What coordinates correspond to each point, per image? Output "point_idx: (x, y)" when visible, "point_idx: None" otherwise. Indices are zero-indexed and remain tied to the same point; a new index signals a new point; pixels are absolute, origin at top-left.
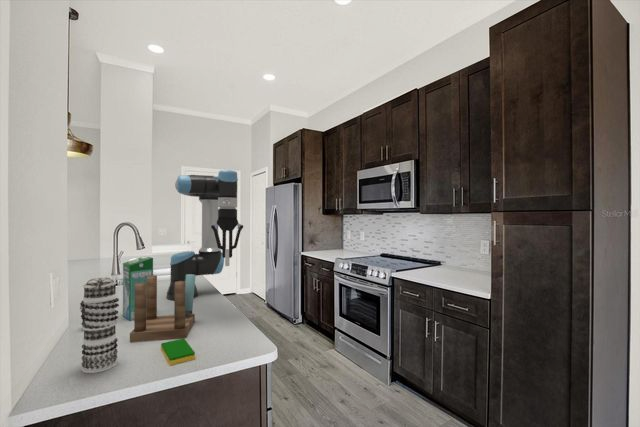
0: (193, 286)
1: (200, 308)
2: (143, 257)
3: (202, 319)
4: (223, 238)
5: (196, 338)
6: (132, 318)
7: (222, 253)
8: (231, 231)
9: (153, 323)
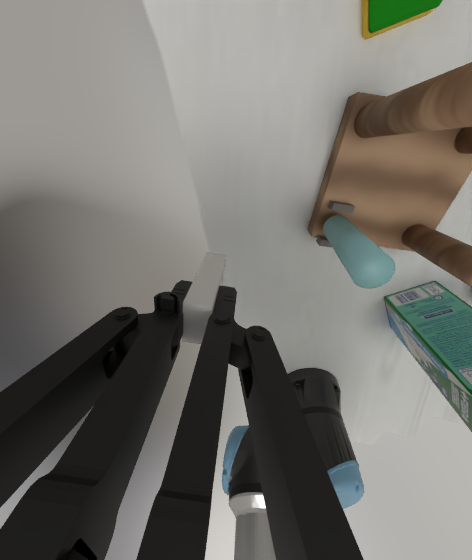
0: (346, 242)
1: (284, 310)
2: None
3: (289, 236)
4: (209, 406)
5: (323, 81)
6: (431, 284)
7: (234, 303)
8: (19, 518)
9: (422, 188)
